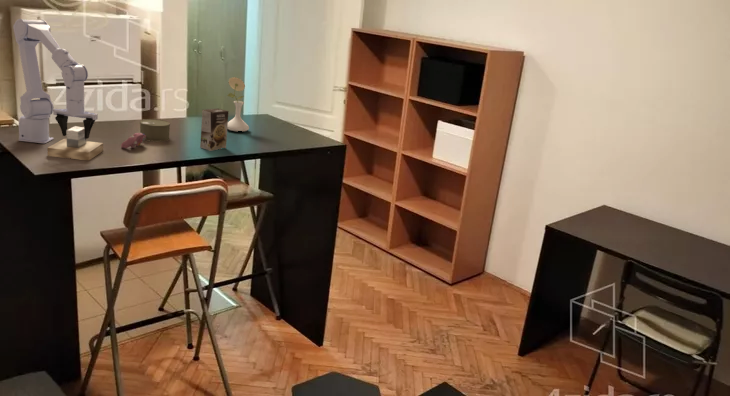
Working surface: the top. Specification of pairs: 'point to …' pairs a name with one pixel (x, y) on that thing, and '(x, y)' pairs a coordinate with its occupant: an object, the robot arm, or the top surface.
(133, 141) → the pink toy
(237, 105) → the flower in vase
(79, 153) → the birch stand
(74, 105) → the robot arm
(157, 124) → the can
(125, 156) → the top surface
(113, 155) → the top surface
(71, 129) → the two-plate housing
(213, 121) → the coffee box
